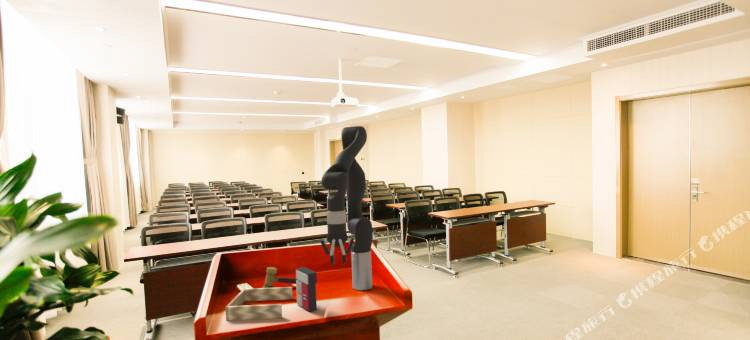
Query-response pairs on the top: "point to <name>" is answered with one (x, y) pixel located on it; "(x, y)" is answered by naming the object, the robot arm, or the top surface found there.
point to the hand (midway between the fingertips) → (338, 263)
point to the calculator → (306, 288)
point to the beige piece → (257, 311)
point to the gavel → (276, 278)
